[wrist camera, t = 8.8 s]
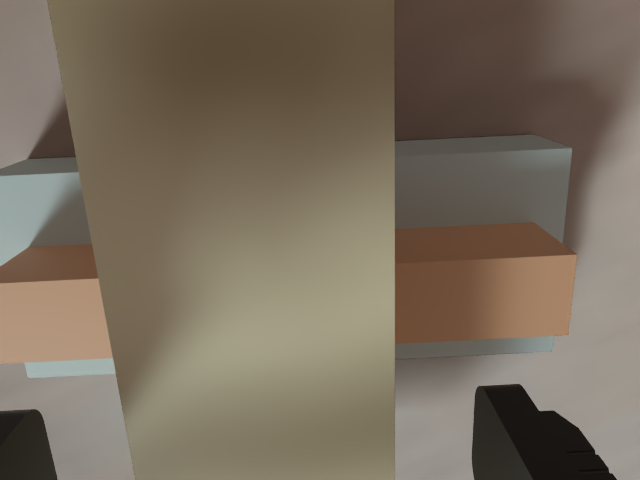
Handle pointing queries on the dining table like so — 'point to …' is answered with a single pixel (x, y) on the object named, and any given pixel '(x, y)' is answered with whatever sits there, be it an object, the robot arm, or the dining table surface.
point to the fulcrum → (410, 256)
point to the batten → (242, 228)
